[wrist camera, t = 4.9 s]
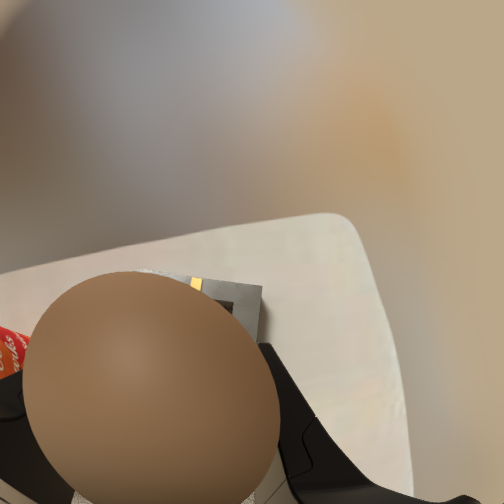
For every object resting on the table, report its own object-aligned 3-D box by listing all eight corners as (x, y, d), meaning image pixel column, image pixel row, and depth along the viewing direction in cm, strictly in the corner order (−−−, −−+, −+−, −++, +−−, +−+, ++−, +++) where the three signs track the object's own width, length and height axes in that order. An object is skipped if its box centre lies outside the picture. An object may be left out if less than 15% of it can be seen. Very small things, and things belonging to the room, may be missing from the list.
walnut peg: (237, 412, 14) (259, 541, 3) (160, 399, 14) (25, 471, 3) (247, 336, 15) (296, 287, 4) (170, 324, 15) (47, 247, 4)
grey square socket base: (247, 398, 21) (249, 403, 18) (129, 377, 20) (117, 379, 18) (259, 293, 24) (262, 285, 22) (146, 277, 24) (136, 267, 21)
